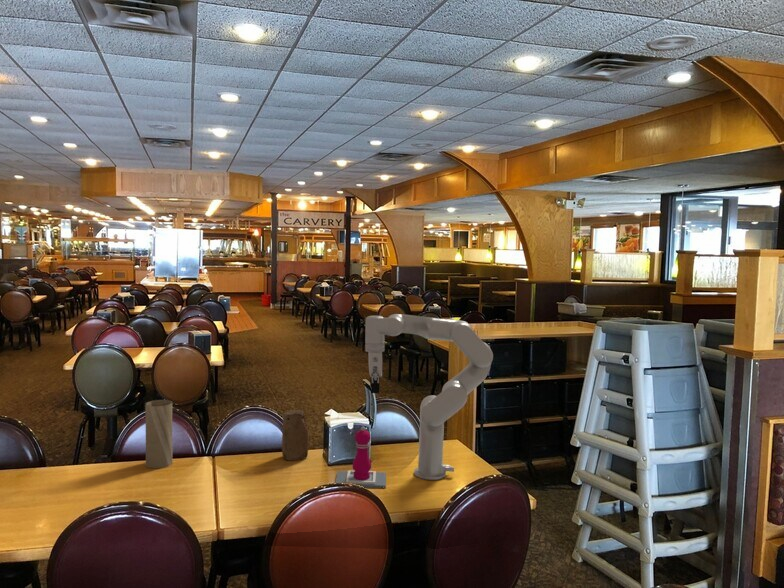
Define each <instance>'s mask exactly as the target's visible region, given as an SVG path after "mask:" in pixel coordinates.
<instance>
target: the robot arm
mask: <svg viewBox="0 0 784 588" xmlns="http://www.w3.org/2000/svg"><path fill="white" fill-rule="evenodd" d="M400 334H410V335H417V336H420V337H422V338H424V339H427V340H431V341H432V340H433V341H443V342H445V341H446V342H453V343H454V344H455V345H456V346H457V347H458V349H459V350H460V351H461V352H462V353H463V354H464V355H465V356H466V358H467V359H468V360H469V362H468V364H467V365H466V366H465V367H464V368H463V369H462V370H461V371H460V372H459V373H457V374H455V375H454V376H453V377H452V378H451V379H449V380H448V381H447V382H446V383H444V384H443V386H442V389H441V392H440V393H439V394H437V395H434V394H433V395H432V394H431V395H427V396H426V397H424V398H423V400H422V401H421V403H420V405H419V406H420V407H419V436H418V438H419V439H418V440H419V441H418V461H417V462H418V464H417V465H418V467H415V469H414V472H413V473H414V475H415V477H417V478H419V479H421V480H426V481H427V480H428V481H437V480H441V479H444V478H445V477H446V474H447V472H450V473H453V472H455V467H454V466H451V464H444V461H443V455H444V454H443V453H444V452H443V451H444V436H445V435H444V430H445V429H444V428H445V422H446V421H448V419H451V417H453V416H454V415H456V413H458V412H459V411H460V410H462V408H463V407H464V406H465V405H466V403H467V400H468V395H469V394H470V393H471V392H473V391H474V390H476V388H477V387H478V386H479V385H481V384H482V383H483V382H484V381H485V379H486V378H487V376H488V375H489V372H490V370H491V367H492V366H491V365H492V362H493V360H494V353H493V350H492V349H491V347H490V345H489V344H488V343H486V342H484V341H483V340H482V338H480V337H479V336H478V335H477V333H476V332H475V331H474V330H473V328H472V327H471V325H470V324H469V323H468V322H467V321H465V320H460V319H459V320H458V319H448V318H438V317H430V316H421V315H420V316H419V315H411V314H401V313H400V314H399V313H394V314H391V315H389V316H388V317H383V316H382V315H369V316H367V317H366V318H365V337H364V338H365V339H364V340H365V345H364V346H365V348H364V349H365V352H366V353H368V372H369V376H370V379H369V380H370V382H369V383H370V393H371V394H379V393H380V381H379V380H380V379H379V378H382V377H383V352H385V346H386V345H385V340H386V339H385V336H389V337H390V336H391V337H395V336H396V337H397V336H399V335H400Z"/></svg>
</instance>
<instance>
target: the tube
mask: <svg viewBox="0 0 784 588" xmlns="http://www.w3.org/2000/svg"><path fill="white" fill-rule="evenodd" d="M172 464H173V401H172V400H168V399H154V400H151V401H146V402H145V467H146V468H149V469H157V470H158V469H163V468H167V467H170V466H172Z"/></svg>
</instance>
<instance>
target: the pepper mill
mask: <svg viewBox="0 0 784 588" xmlns="http://www.w3.org/2000/svg"><path fill="white" fill-rule="evenodd" d="M354 440H355V447H356V454H355V457H354V459H353V461H352V470H353V471H355V472H354V478H355V479H357V480H366V479H369V478H370V472H369V471H371V469H372V461H371V459H370V456H369V453H368V451H369V450H368V449H369V447H370V441H371V434H370V432H369V431H368V430H366V427H365V426H361V427H360V429H359V430H358V431H356V432H355V434H354Z"/></svg>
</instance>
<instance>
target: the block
mask: <svg viewBox="0 0 784 588" xmlns="http://www.w3.org/2000/svg"><path fill="white" fill-rule="evenodd" d="M282 417H283V418H282V430H281V431H282V432H281V433H282V434H281V435H282V436H281V452H282V458H283V459H284V460H286V461H291V462H292V461H293V460H294V461H298V460H300V459H301V460H305V459H306V458H307V457H308V455H309V429H308V426H307V423H308V422H307V417H306V414H305V412H304V411H303V410H300V409H297V410H294V409H293V410H286V411H284V413H283V416H282ZM301 460H300V461H301Z"/></svg>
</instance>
